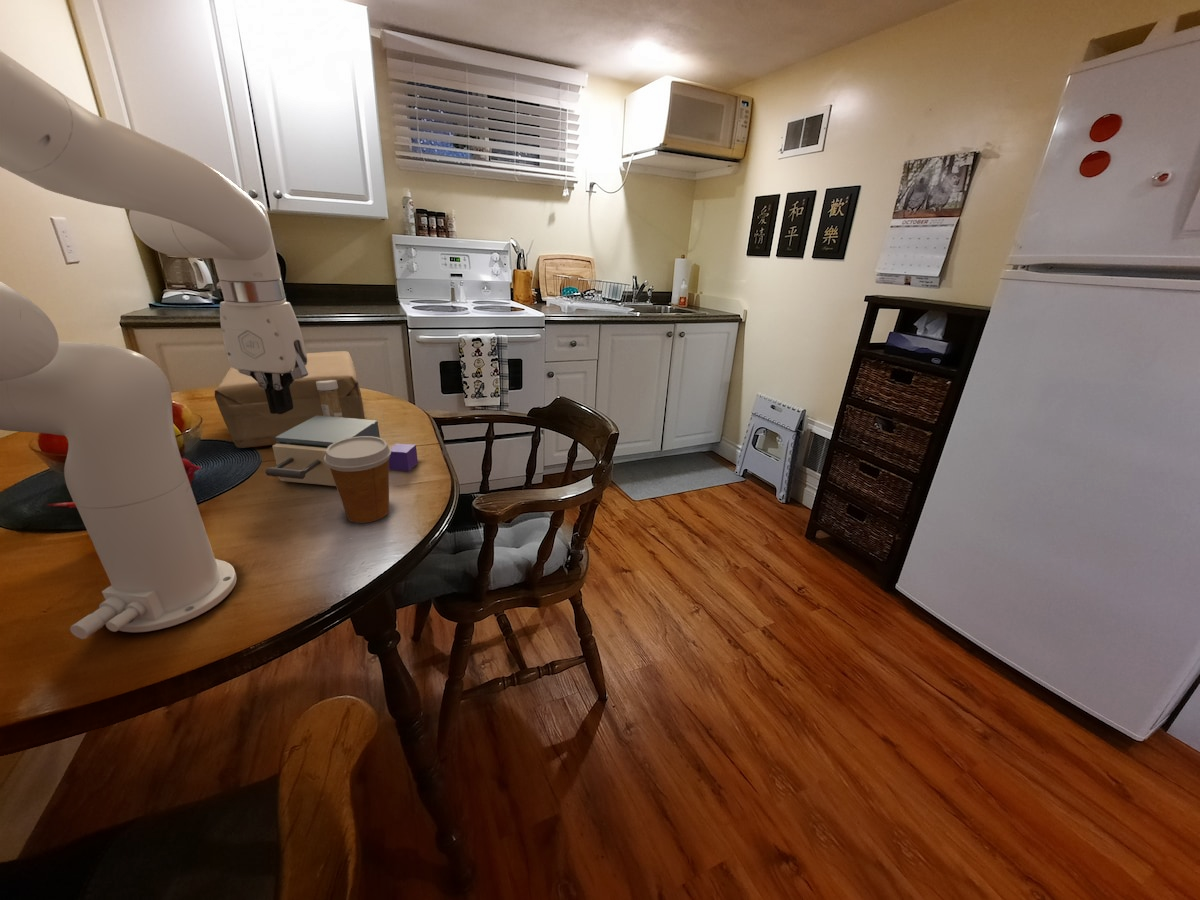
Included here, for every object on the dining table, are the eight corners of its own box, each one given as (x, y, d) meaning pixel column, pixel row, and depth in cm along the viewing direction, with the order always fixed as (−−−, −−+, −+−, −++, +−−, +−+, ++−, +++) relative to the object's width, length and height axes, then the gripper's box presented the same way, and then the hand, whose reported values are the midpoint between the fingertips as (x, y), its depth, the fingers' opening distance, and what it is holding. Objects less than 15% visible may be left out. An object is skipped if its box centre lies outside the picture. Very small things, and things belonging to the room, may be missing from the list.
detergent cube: (408, 471, 95) (406, 452, 93) (389, 469, 95) (386, 451, 94) (418, 462, 99) (416, 444, 97) (399, 461, 99) (396, 442, 97)
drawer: (320, 502, 81) (312, 466, 79) (256, 496, 82) (246, 459, 79) (372, 461, 96) (367, 429, 93) (317, 456, 97) (311, 424, 94)
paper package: (245, 412, 119) (230, 355, 114) (361, 400, 130) (353, 348, 125) (227, 454, 98) (207, 386, 92) (368, 436, 109) (358, 375, 103)
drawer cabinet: (350, 487, 88) (342, 443, 85) (285, 480, 89) (274, 437, 86) (383, 460, 99) (377, 420, 95) (324, 454, 100) (316, 415, 96)
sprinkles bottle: (350, 440, 107) (340, 380, 102) (327, 443, 105) (315, 382, 99) (347, 433, 110) (336, 375, 105) (324, 436, 108) (312, 377, 103)
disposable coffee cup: (337, 503, 83) (324, 438, 78) (398, 495, 87) (389, 432, 82) (334, 533, 75) (319, 463, 70) (400, 522, 79) (391, 455, 74)
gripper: (184, 292, 68) (220, 415, 76) (284, 299, 67) (311, 423, 75) (227, 286, 75) (256, 400, 83) (319, 292, 74) (340, 407, 81)
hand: (282, 411), depth 79 cm, fingers closed
